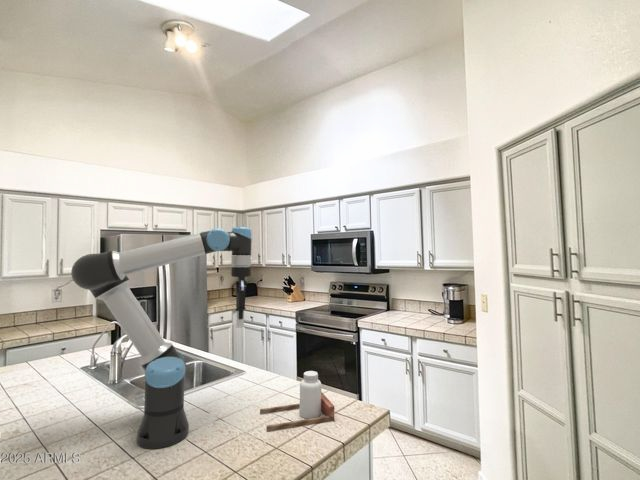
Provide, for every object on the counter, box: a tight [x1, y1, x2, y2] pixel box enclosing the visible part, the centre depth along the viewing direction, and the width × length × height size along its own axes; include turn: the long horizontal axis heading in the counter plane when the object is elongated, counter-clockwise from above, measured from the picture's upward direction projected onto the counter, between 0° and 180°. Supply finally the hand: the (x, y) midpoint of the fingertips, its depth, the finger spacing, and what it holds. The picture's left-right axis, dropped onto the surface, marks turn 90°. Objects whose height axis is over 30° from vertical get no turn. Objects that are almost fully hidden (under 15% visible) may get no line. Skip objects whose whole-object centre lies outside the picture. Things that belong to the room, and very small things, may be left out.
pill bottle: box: [299, 370, 322, 419], centre depth 125 cm, size 8×8×15 cm
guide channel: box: [259, 391, 335, 433], centre depth 123 cm, size 24×14×5 cm, turn 109°
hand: (240, 327), depth 132 cm, fingers closed
